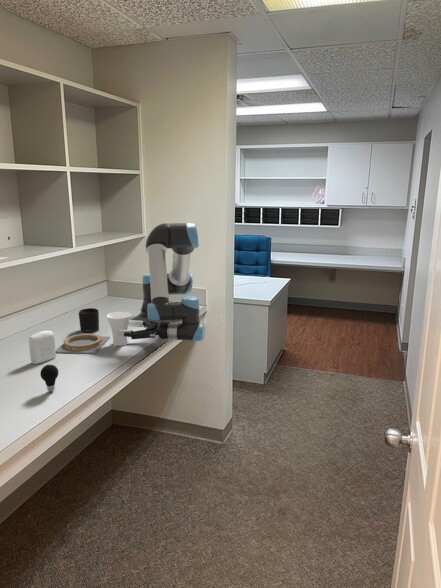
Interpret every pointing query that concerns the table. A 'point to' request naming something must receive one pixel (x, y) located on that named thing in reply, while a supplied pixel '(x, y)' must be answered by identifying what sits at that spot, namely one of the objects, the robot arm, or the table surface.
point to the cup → (118, 326)
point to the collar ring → (85, 346)
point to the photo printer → (42, 347)
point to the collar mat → (82, 342)
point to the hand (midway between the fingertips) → (123, 327)
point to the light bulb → (49, 376)
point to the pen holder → (89, 320)
